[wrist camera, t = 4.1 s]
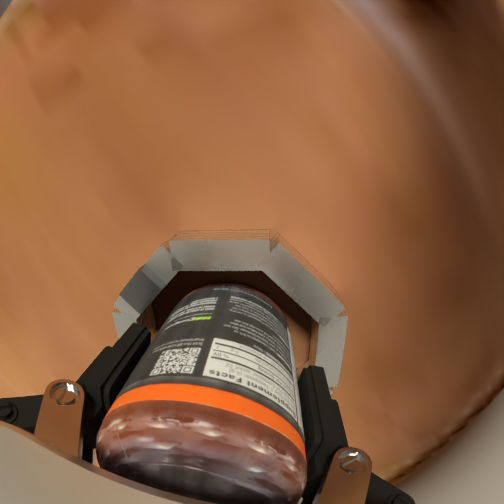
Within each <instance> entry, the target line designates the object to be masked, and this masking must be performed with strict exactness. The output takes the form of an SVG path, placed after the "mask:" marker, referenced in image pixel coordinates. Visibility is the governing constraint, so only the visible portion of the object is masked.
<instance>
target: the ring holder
mask: <svg viewBox="0 0 504 504" xmlns="http://www.w3.org/2000/svg"><path fill="white" fill-rule="evenodd" d="M178 271H263V272H264V273H265V274H266V275H267V276H268V277H269V278H271V279H272V280H273V281H274V282H275V283H276V284H277V285H278V286H279V287H280V288H281V289H282V290H283V291H285V292H286V293H287V294H288V295H289V296H290V297H291V298H292V299H293V300H294V301H295V302H296V303H297V304H299V305H300V306H301V307H302V308H303V309H304V310H305V311H306V312H307V313H308V314H309V315H310V316H312V324H311V338H310V350H309V360H308V361H306V362H305V363H304V364H303V365H301V366H300V367H299V368H297V369H296V376H297V382H298V379H299V377H300V374H301V372H302V370H303V368H308V366H309V365H313V366H319V367H323V368H324V371H325V375H326V379H327V383H328V387H329V391H330V395H331V394H332V393H334V392H333V388H332V387H338V382H339V376H340V370H341V364H342V358H343V351H344V345H345V337H346V330H347V322H348V315H347V313H346V311H345V306H344V305H343V303H342V301H341V299H340V297H339V295H338V293H337V292H336V290H335V289H334V288H333V287H332V286H331V285H330V284H329V283H328V282H327V281H326V280H325V279H324V278H323V277H322V276H321V275H320V274H319V273H318V272H317V271H316V270H315V269H314V268H313V267H312V266H311V265H310V264H309V263H308V262H307V261H306V260H305V259H304V258H303V257H302V256H301V255H300V254H299V253H298V252H297V251H296V250H295V249H294V248H293V247H292V246H291V245H290V244H289V243H288V242H287V241H286V240H285V239H284V238H283V237H282V236H281V235H280V234H279V233H277V234H276V235H275V236H274V237H273V238H272V239H271V240H270V231H269V230H208V231H183V232H181V233H180V234H179V235H175V236H173V237H172V238H170V239H169V240H167V241H166V242H164V243H163V244H161V245H160V247H159V248H158V249H157V250H156V251H155V253H154V254H153V255H152V256H151V258H150V259H149V260H148V261H147V262H146V264H145V265H143V266H142V267H141V268H139V270H138V271H137V272H136V273H135V275H134V276H133V277H132V279H131V280H130V281H129V282H128V284H127V285H126V286H125V288H124V289H123V290H122V292H121V293H120V294H119V295H120V297H119V298H118V300H117V301H116V302H115V303H114V306H115V307H116V309H115V310H114V311H113V312H112V314H113V319H114V323H115V328H116V332H117V336H118V340H119V339H120V337H121V336H122V335H123V334H124V333H125V331H126V330H127V329H128V328H129V327H130V326H131V324H132V323H134V322H135V323H138V324H141V325H144V326H147V329H148V331H151V343H152V341H153V339H154V338H155V336H156V335H157V330H156V325H155V319H154V313H153V307H152V301H153V300H154V299H155V297H156V296H157V295H158V294H159V293H160V292H161V291H162V289H163V288H164V287H165V286H166V285H167V284H168V283H169V282H170V280H171V279H172V278H173V277H174V276H175V275H176V274H177V273H178ZM151 343H150V344H151Z"/></svg>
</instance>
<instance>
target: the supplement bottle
mask: <svg viewBox="0 0 504 504" xmlns="http://www.w3.org/2000/svg"><path fill="white" fill-rule="evenodd" d="M96 455H97V460H98V463H99V465H100V468H101V469H104V470H106V471H109V472H111V473H113V474H116V475H118V476H121V477H124V478H126V479H129V480H132V481H134V482H137V483H140V484H143V485H146V486H149V487H152V488H156V489H159V490H162V491H165V492H169V493H172V494H176V495H180V496H184V497H188V498H192V499H196V500H201V501H205V502H210V503H215V504H297V503H298V502H299V500H300V498H301V496H302V494H303V492H304V489H305V487H306V482H307V462H306V453H305V438H304V429H303V422H302V415H301V405H300V398H299V391H298V384H297V376H296V368H295V360H294V354H293V346H292V340H291V335H290V330H289V327H288V324H287V321H286V318H285V316H284V314H283V313H282V311H281V310H280V308H279V307H278V306H277V305H276V304H275V303H274V302H273V301H272V300H271V299H270V298H269V297H267V296H266V295H265V294H263V293H262V292H260V291H258V290H256V289H254V288H252V287H249V286H246V285H242V284H238V283H213V284H209V285H205V286H203V287H200V288H198V289H195V290H193V291H192V292H190V293H189V294H187V295H186V296H185V297H184V298H183V299H182V300H181V301H180V302H179V303H178V304H177V305H176V306H175V308H174V309H173V311H172V312H171V314H170V315H169V317H168V318H167V320H166V321H165V322H164V324H163V326H162V327H161V328H160V330H159V331H158V333H157V335H156V336H155V338H154V339H153V341H152V343H151V344H150V345H149V347H148V349H147V350H146V352H145V353H144V355H143V356H142V358H141V359H140V361H139V363H138V364H137V365H136V367H135V369H134V370H133V372H132V373H131V375H130V377H129V379H128V380H127V382H126V383H125V385H124V386H123V388H122V389H121V391H120V393H119V394H118V395H117V397H116V399H115V401H114V403H113V405H112V406H111V408H110V409H109V411H108V413H107V414H106V416H105V418H104V420H103V422H102V425H101V426H100V429H99V431H98V434H97V438H96Z"/></svg>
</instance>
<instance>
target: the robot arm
mask: <svg viewBox="0 0 504 504" xmlns="http://www.w3.org/2000/svg"><path fill="white" fill-rule="evenodd" d="M150 343H151V331H148V329H147V326H144V325H141V324H138V323H135V322H134V323H132V324H131V326H130V327H129V328H128V329H127V330H126V331H125V333H124V334H123V335H122V336H121V337H120V339H119V340H118V341H117V342H116V343H115V344H114V346H113V347H110V346H107V347H105V348H104V349H103V351H102V352H101V353H100V354H99V355H98V356H97V358H96V359H95V360H94V361H93V362H92V363H91V365H90V366H89V367H88V368H87V369H86V370H85V372H84V373H83V374H82V375H81V376H80V378H79V379H78V380H77V381H76V382H74V381H71V380H67V379H60V380H55V381H53V382H51V383H50V384H49V385H48V386H47V388H46V390H45V393H44V395H36V396H25V397H14V398H1V399H0V504H215V503H210V502H205V501H201V500H196V499H192V498H188V497H184V496H180V495H176V494H172V493H169V492H165V491H162V490H159V489H156V488H152V487H149V486H146V485H143V484H140V483H137V482H134V481H132V480H129V479H126V478H124V477H121V476H118V475H116V474H113V473H111V472H109V471H106V470H104V469H101V468H99V467H97V466H95V451H96V438H97V434H98V431H99V429H100V426H101V425H102V422H103V420H104V418H105V416H106V414H107V413H108V411H109V409H110V408H111V406H112V405H113V403H114V401H115V399H116V397H117V395H118V394H119V393H120V391H121V389H122V388H123V386H124V385H125V383H126V382H127V380H128V379H129V377H130V375H131V373H132V372H133V370H134V369H135V367H136V365H137V364H138V363H139V361H140V359H141V358H142V356H143V355H144V353H145V352H146V350H147V349H148V347H149V345H150ZM297 384H298V391H299V398H300V405H301V415H302V422H303V429H304V438H305V453H306V462H307V482H306V487H305V489H304V492H303V494H302V496H301V498H300V501H299V503H298V504H415V502H414V500H413V499H412V498H411V497H410V496H409V495H408V494H406V493H405V492H403V491H401V490H399V489H398V488H396V487H394V486H393V485H391V484H390V483H388V482H386V481H385V480H383V479H382V478H380V477H378V476H377V475H375V474H374V473H372V472H371V471H372V461H371V459H370V457H369V456H368V455H367V453H365V452H364V451H362V450H360V449H358V448H354V447H348V443H347V438H346V434H345V430H344V426H343V422H342V418H341V414H340V410H339V406H338V403H337V401H336V400H333V399H331V395H330V391H329V387H328V383H327V379H326V375H325V371H324V368H323V367H319V366H313V365H309V366H308V368H303V370H302V372H301V374H300V377H299V379H298V382H297Z"/></svg>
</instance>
